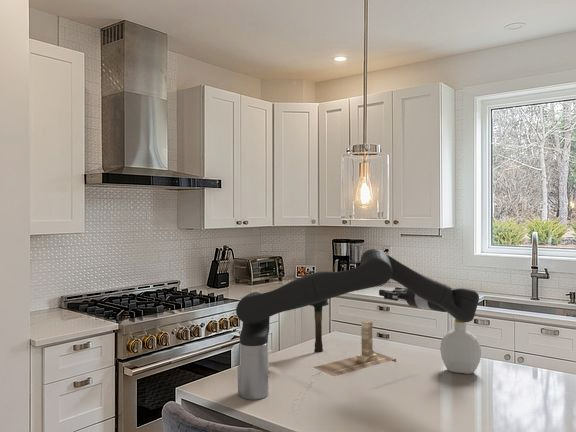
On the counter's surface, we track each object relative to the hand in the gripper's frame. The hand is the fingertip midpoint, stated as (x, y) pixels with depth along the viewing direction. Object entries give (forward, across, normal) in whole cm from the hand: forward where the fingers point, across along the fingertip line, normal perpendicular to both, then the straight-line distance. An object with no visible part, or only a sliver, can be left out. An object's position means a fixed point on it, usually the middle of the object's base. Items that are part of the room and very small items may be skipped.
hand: (387, 291), depth 177 cm
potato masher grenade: (+32, +7, +30) cm, 45 cm away
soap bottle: (-16, -21, +30) cm, 40 cm away
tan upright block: (+11, 0, +28) cm, 31 cm away
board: (+11, +6, +30) cm, 33 cm away
